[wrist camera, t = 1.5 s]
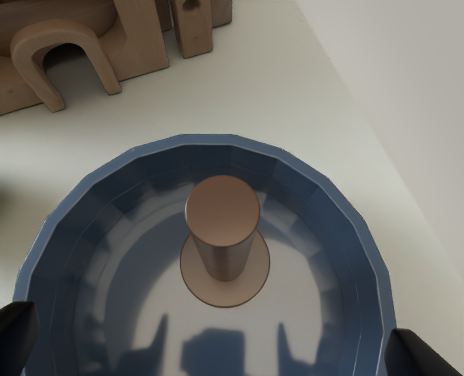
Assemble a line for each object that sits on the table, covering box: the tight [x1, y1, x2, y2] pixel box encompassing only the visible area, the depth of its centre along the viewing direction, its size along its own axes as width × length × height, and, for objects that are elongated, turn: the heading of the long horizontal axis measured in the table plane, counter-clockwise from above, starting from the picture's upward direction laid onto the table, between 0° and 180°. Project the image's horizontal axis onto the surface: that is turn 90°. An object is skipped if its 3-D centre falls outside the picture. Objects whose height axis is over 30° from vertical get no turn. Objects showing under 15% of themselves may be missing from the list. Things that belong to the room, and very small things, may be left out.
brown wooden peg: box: [180, 175, 270, 308], centre depth 15 cm, size 5×5×10 cm
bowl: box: [12, 134, 397, 376], centre depth 17 cm, size 15×15×6 cm
